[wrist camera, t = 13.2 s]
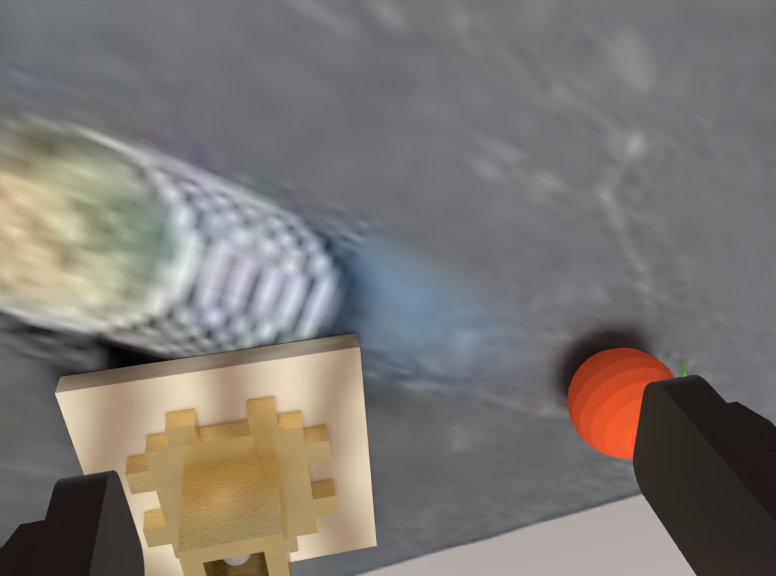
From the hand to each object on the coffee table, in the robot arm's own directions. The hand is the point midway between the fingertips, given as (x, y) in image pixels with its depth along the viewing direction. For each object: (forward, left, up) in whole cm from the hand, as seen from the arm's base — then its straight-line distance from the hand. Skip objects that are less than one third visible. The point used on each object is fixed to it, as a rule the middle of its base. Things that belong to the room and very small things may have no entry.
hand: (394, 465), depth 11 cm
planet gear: (+6, +25, -27) cm, 37 cm away
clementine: (-19, +22, -28) cm, 41 cm away
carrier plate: (+6, +25, -28) cm, 38 cm away
